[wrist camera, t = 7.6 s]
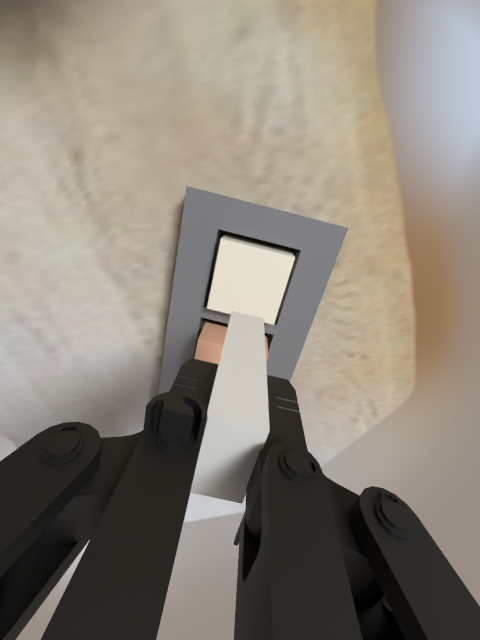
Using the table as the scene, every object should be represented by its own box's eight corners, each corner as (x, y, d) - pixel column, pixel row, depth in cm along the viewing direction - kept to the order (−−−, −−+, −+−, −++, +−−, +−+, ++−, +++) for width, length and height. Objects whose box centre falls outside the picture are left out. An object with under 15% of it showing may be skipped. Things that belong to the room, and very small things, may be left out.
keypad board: (193, 188, 23) (186, 186, 21) (339, 225, 23) (348, 228, 21) (157, 427, 34) (150, 443, 32) (257, 449, 34) (257, 467, 32)
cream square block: (225, 234, 24) (220, 238, 21) (290, 250, 24) (295, 257, 21) (213, 296, 26) (206, 308, 23) (272, 310, 27) (273, 324, 23)
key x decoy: (205, 322, 25) (198, 338, 22) (267, 336, 26) (268, 355, 22) (195, 373, 28) (187, 395, 24) (251, 386, 28) (250, 410, 25)
